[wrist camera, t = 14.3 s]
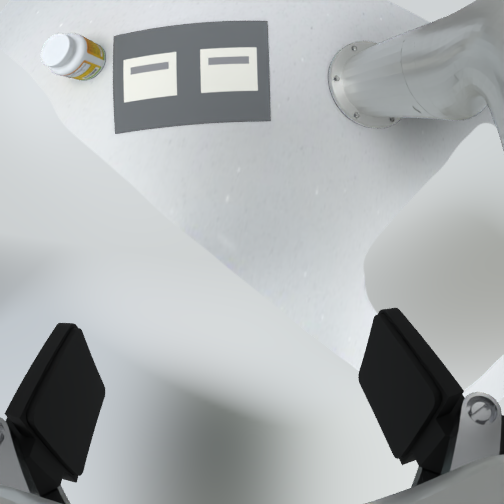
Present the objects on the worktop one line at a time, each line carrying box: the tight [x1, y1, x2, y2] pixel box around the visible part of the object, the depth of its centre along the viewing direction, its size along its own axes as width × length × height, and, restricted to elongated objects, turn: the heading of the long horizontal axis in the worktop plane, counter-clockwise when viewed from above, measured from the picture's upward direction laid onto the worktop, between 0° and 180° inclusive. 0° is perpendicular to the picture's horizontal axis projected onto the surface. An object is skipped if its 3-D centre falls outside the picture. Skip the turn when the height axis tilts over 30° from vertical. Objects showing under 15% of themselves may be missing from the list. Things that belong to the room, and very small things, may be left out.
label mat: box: [113, 21, 270, 134], centre depth 32 cm, size 20×14×1 cm
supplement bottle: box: [40, 33, 105, 80], centre depth 25 cm, size 5×5×10 cm
